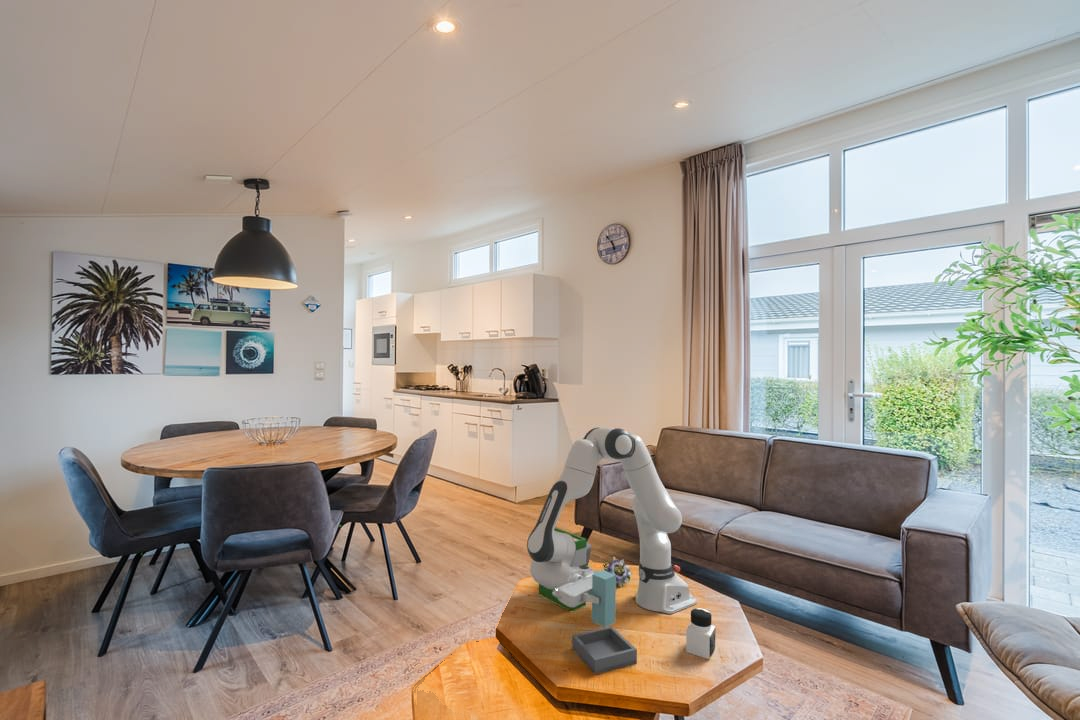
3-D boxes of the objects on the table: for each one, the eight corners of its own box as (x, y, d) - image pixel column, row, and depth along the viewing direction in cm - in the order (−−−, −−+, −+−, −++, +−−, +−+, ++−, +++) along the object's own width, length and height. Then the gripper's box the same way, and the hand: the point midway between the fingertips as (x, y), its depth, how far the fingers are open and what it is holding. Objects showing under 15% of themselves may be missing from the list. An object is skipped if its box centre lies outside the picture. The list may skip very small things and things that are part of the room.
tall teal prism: (601, 615, 151) (602, 569, 151) (615, 621, 147) (615, 574, 148) (591, 621, 147) (592, 574, 147) (605, 627, 144) (605, 579, 144)
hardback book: (538, 594, 187) (539, 530, 187) (553, 588, 192) (553, 526, 192) (571, 611, 174) (572, 543, 174) (585, 605, 178) (586, 538, 179)
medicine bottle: (710, 660, 145) (710, 619, 146) (685, 652, 149) (686, 612, 149) (715, 648, 151) (715, 609, 152) (692, 641, 155) (692, 603, 155)
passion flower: (619, 600, 194) (608, 580, 189) (604, 584, 204) (593, 565, 199) (640, 581, 197) (629, 561, 193) (624, 566, 207) (613, 547, 202)
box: (611, 638, 156) (611, 626, 156) (636, 663, 143) (636, 649, 144) (572, 648, 151) (572, 635, 151) (595, 674, 138) (595, 660, 138)
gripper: (549, 582, 149) (584, 597, 139) (591, 564, 164) (625, 577, 154) (548, 603, 149) (583, 620, 139) (590, 583, 164) (625, 597, 154)
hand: (606, 597), depth 147 cm, fingers closed on tall teal prism, 5 cm apart
